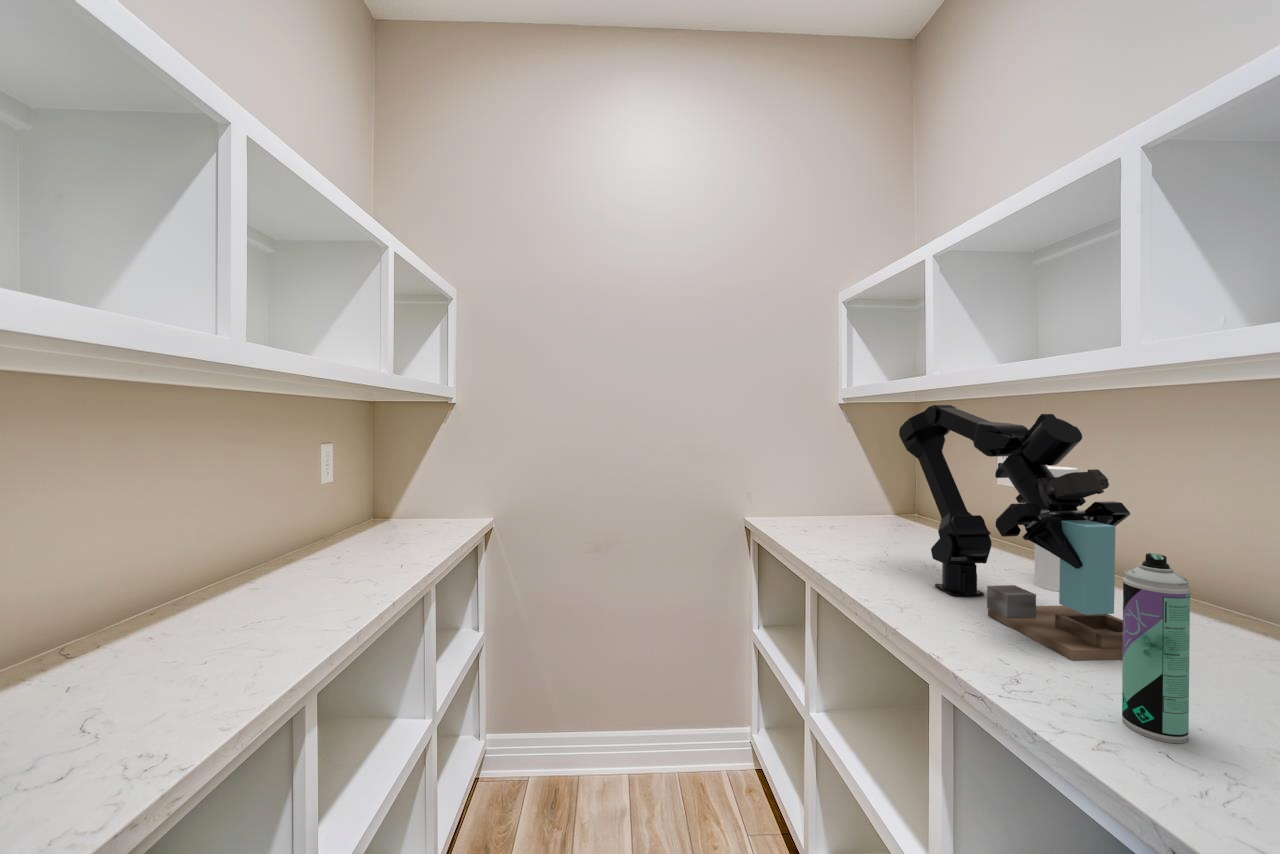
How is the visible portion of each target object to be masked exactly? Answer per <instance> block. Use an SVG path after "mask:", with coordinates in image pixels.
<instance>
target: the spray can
mask: <svg viewBox="0 0 1280 854" xmlns="http://www.w3.org/2000/svg"><path fill="white" fill-rule="evenodd" d="M1167 561H1168V560H1167V556H1165V555H1163V554H1160V553H1151V552H1150V553H1145V560H1143V561H1142V563H1141V562H1140V563H1138V566H1137V567H1134V568H1132V569H1128V570H1125V571H1124V577H1123V578H1122V580H1123V581H1122V620H1123V659H1122V683H1121V684H1122V685H1121V686H1122V687H1121V688H1122V689H1121V690H1122V691H1121V695H1122V696H1121V698H1122V699H1121V703H1122V704H1121V716H1122V719H1121V720H1122V723H1123V724H1124V725H1125V726H1126V727H1127V728H1129V729H1130V730H1132V731H1134V732H1135V733H1137V734H1139V735H1142V736H1145V737H1147V738H1150V739H1153V740H1156V741H1159V742H1164V743H1170V744H1185V743H1186V742H1188V740H1189V734H1190V733H1189V732H1190V731H1189V729H1190V727H1189V726H1190V725H1189V724H1190V722H1189V721H1190V720H1189V719H1190V718H1189V717H1190V645H1191V644H1190V634H1191V633H1190V629H1191V627H1190V625H1191V623H1190V622H1191V619H1190V617H1191V615H1190V614H1191V588H1190V587H1189V584H1190V583H1189V581H1190V580H1188V579H1187V578H1185V577H1183V576H1181V574H1178V573H1177V572H1175V571H1174V568H1173V567H1171V566H1170V564H1169V563H1168V562H1167Z"/></svg>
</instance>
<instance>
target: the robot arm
mask: <svg viewBox="0 0 1280 854" xmlns="http://www.w3.org/2000/svg"><path fill="white" fill-rule="evenodd" d="M898 432H899V433H898V435H899V438H900V440H901V442H902V444H903V446H904V448H905V450H906V451H907V452H909V453H910V454H911V455H912V456H913V457H915V458H916V459H917V460H918V462H919V464H920V467H921V469H922V471H923V474H924V477H925V479H926V482H927V484H928V487H929V490H930V493H931V495H932V497H933V500H934V502H935V506H936V507H937V510H938V513H939V515H940V519H941V520H940V523H939V525H938V526H939V527H938V530H937V532H938V536H939V538H938V540H937V541H936V542H935V543H934V544H933V546H932V547H931V548H930V551H931V556H932V559H933V560H934V561H937V562H939V563H942V566H941V568H942V570H941V571H942V573H941V574H942V575H941V578H942V579H941V581H942V583H934V587H936V588H937V589H940V590H941V591H944V592H945V593H947V594H949V595H951V596H952V597H966V596H967V597H969V596H970V597H972V596H975V597H977V596H982V597H983V596H984V595H985V592H983V591H981V590H978V574H977V571H978V570H977V566H978V565H977V564H987V562H988V558H989V555H990V553H991V552H990V551H991V549H992V539H991V536H990V535H991V532H990V531H989V529H988V527H987V525H986V522H985V519H984V518H983V516H982V515H979V514H978V515H975V514H974V515H973V514H972V513H970V512H969V511H968V508H967V507H966V505H965V502H964V500H963V498H962V495H961V493H960V491H959V488H958V485H957V483H956V481H955V479H954V477H953V474H952V472H951V470H950V468H949V467H950V466H949V465H948V462H947V460H946V458H945V456H944V453H943V449H944V446H945V442H946V437H945V436H946V435H948V434H949V433H950V432H952V433H953V432H954V433H956V434H957V435H959V436H960V435H961V436H962V437H964V438H966V439H969V440H970V441H972V442H973V447H974V448H976V450H978V451H979V452H981V453H982V454H984V455H985V456H987V457H991V458H992V457H1006V458H1005V460H1003V461H1002V462H998V463H997V469H996V471H995V474H994V475H995V479H1002V478H1003V479H1007V478H1008V480H1009V481H1010V482H1011V484H1012V485H1013V487H1014V488H1015V490H1016V491H1017V493H1018V495H1017V496H1016V497H1015V500H1016V501H1017V502H1018V503H1010V504H1009V505H1008V507H1007V508H1006V509H1005V510H1004V511H1003V512H1002V513H1001V514H1000V515H999V516H998V517H997V518H996V519H995V528H996V530H997V531H998V532H999V534H1000V536H1001V537H1004V538H1005V537H1018V536H1019V535H1020V533H1021V531H1022V530H1021V528H1020V527H1019V526H1024V529H1025V531H1026V533H1025V534H1023V535H1022V539H1023V540H1025V541H1030V542H1031V543H1033V544H1034V545H1035V544H1037V545H1038V546H1040V547H1042V548H1044V549H1046V550H1047V551H1049V552H1051V553H1052V554H1054V555H1055V556H1057V557H1059V558H1060V559H1062V560H1063V561H1065V562H1067V563H1068V564H1070V565H1071V566H1073V567H1074V568H1076V569H1079V568H1081V567H1082V566H1083V564H1082V562H1081V560H1080V558H1079V556H1078V555H1077V553H1076V551H1075V550H1074V548H1073V547H1072V545H1071V544H1070V542H1069V541H1068V539H1067V537H1066V536H1065V534H1064V533H1063V531H1062V521H1072V520H1089V521H1094V522H1098V523H1103V524H1107V525H1112V526H1115V527H1116V526H1118V525H1120V523H1122V522H1123V521H1124V520H1126V519H1127V518H1128V517H1129V516H1131V512H1130V511H1129V510H1128V508H1127V507H1126V505H1124V504H1123V502H1119V501H1094V502H1093V503H1092V504H1091V505H1089V506H1088V507H1087V508H1086V509H1083V510H1079V506H1080V507H1081V506H1083V505H1084V504H1085V503H1086V502H1087V500H1086V499H1085V498H1087V497H1091V496H1094V495H1100V494H1104V493H1105V491H1104V490H1106V489H1108V488H1109V486H1110V483H1109V479H1108V477H1107V476H1106V475H1105V474H1104V473H1103V472H1102V471H1100V469H1096V468H1095V469H1088V470H1087V471H1078V472H1073V473H1068V474H1065V475H1062V476H1060V477H1054V475H1053V474H1052V473H1051V472H1050V470H1049V469H1048V468H1047V466H1057V465H1058V464H1060V463H1061V461H1062V460H1063V459H1065V457H1067V456H1068V454H1069V453H1071V451H1072V450H1073V449H1074V448H1076V446H1077V445H1079V443H1080V442H1081V441H1082V440H1083V434H1082V432H1081V430H1080V429H1079V428H1078V427H1077V426H1075V425H1073V424H1071V423H1070V422H1069V421H1066V420H1064V419H1060V418H1057V417H1056V416H1055V415H1054V413H1041V414H1039V416H1038V417H1037V419H1036V420H1035V422H1034V423H1033V425H1032V426H1031V427H1030V428H1029V429H1028V428H1027V426H1026V425H1023V424H1017V423H1016V424H1015V423H1009V422H996V421H990V420H988V419H984V418H983V417H980V416H977V415H974V414H972V413H970V412H967V411H964V410H961V409H960V408H956V406H954V405H952V404H933V405H931V406H928V407H927V408H926V409H925V410H923V411H922V412H920V413H917V414H915V415H913V416H911V417H909V418H908V419H907V420H906V421H904V423H903V424H902V425H901V426H900V427H899V431H898ZM1077 507H1078V509H1077Z"/></svg>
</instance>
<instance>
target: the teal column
mask: <svg viewBox="0 0 1280 854" xmlns="http://www.w3.org/2000/svg"><path fill="white" fill-rule="evenodd" d="M1062 531H1063V533H1064V534H1065V536H1066V537H1067V539H1068V541H1069V542H1070V544H1071V545H1072V547H1073V548H1074V550H1075V551H1076V553H1077V555H1078V556H1079V558H1080V560H1081V562H1082V564H1083V566H1082V567H1081V568H1079V569H1076V568H1074V567H1073V566H1071V565H1070V564H1068V563H1067V562H1065V561H1063V560H1062V559H1060V587H1059V591H1058V592H1059V594H1058V596H1059V598H1058V600H1059V601H1058V604H1059V605H1060V606H1065V607H1068V608H1070V609H1073V610H1075V611H1078V612H1080V613H1082V614H1085V615H1094V614H1109V615H1112V614H1113V615H1114V614H1115V582H1116V581H1115V576H1116V575H1115V574H1116V573H1115V571H1116V568H1115V567H1116V526H1112V525H1107V524H1103V523H1098V522H1094V521H1089V520H1072V521H1062Z"/></svg>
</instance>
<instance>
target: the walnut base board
mask: <svg viewBox="0 0 1280 854" xmlns="http://www.w3.org/2000/svg"><path fill="white" fill-rule="evenodd" d="M986 589H987V590H986V602H987V603H986V609H987V616H989V617H991V618H993V619H995V620H996V621H998V622H999V623H1002V624H1003V625H1005V624H1006V625H1005V626H1007V625H1008V626H1007V627H1010V628H1011V629H1013V630H1014V631H1016V630H1017V632H1018V631H1019V633H1020V632H1021V633H1020V634H1022V633H1023V634H1022V635H1025V636H1026V637H1027V638H1029V637H1030V639H1031V638H1032V640H1033V641H1035V642H1037V643H1039V644H1040V645H1042V646H1044V647H1047V648H1048V649H1050V650H1052V651H1053V650H1054V652H1055V651H1056V652H1055V653H1056V654H1059V653H1060V654H1059V655H1061V656H1063V657H1065V658H1066V657H1067V659H1068V660H1070V661H1102V660H1103V661H1106V660H1110V661H1112V660H1115V661H1116V660H1123V619H1121V618H1118V617H1116V616H1113V615H1112V614H1094V615H1085V614H1083V613H1080V612H1078V611H1075V610H1073V609H1070V608H1068V607H1065V606H1063V605H1037V594H1036V593H1034V592H1031V591H1029V590H1026V589H1025V588H1022V587H1020V586H1017V585H1016V584H1014V585H1013V584H1012V585H1010V584H1009V585H1007V584H1004V585H987V586H986Z"/></svg>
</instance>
